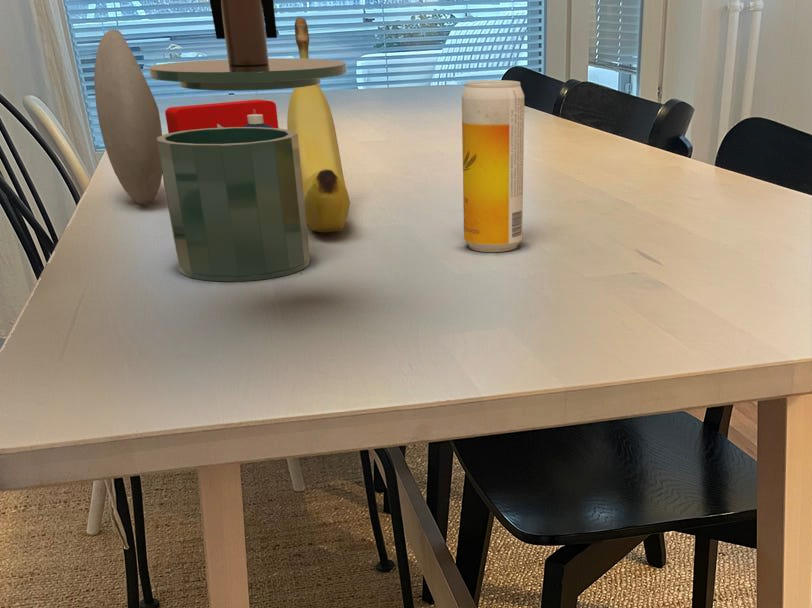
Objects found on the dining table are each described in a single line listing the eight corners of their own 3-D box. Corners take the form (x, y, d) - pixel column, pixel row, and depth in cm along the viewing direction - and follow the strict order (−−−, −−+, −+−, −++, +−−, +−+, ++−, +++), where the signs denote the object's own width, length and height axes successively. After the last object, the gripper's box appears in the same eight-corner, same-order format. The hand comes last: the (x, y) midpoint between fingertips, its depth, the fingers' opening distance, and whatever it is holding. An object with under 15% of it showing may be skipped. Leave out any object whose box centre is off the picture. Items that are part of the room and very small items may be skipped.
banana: (361, 245, 104) (345, 22, 93) (305, 248, 103) (282, 23, 92) (340, 206, 122) (324, 16, 111) (293, 208, 121) (272, 16, 110)
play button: (189, 195, 129) (175, 109, 124) (178, 192, 131) (164, 107, 125) (284, 181, 138) (275, 100, 132) (273, 179, 139) (263, 99, 134)
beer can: (479, 238, 106) (478, 79, 98) (531, 243, 104) (534, 80, 96) (454, 250, 102) (450, 84, 93) (507, 255, 99) (508, 86, 91)
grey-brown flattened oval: (181, 214, 119) (151, 32, 108) (120, 219, 117) (84, 33, 106) (165, 189, 133) (137, 26, 123) (110, 193, 131) (77, 27, 120)
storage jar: (160, 280, 92) (135, 145, 86) (202, 250, 103) (182, 127, 96) (292, 282, 91) (277, 145, 85) (321, 251, 102) (309, 126, 95)
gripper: (21, -312, 46) (135, 69, 69) (359, -302, 48) (361, 65, 71) (15, -435, 48) (128, -21, 70) (343, -420, 50) (350, -23, 73)
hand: (245, 21), depth 71 cm, fingers closed on jar lid, 3 cm apart
